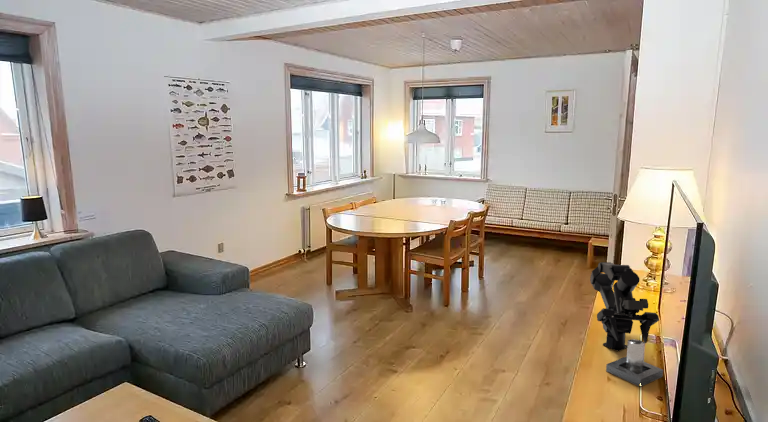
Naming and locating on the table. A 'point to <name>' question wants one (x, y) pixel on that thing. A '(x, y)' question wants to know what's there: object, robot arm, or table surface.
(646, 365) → the jig
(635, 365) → the ring
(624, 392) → the table surface
